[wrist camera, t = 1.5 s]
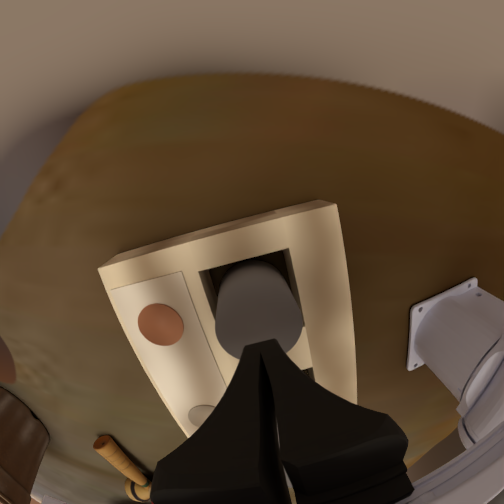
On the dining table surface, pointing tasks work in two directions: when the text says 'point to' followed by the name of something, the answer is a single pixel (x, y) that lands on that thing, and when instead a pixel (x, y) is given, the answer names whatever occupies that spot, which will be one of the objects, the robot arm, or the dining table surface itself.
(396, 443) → the robot arm
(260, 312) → the button
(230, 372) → the button board
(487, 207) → the dining table surface
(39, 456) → the plant pot
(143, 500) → the kendama
